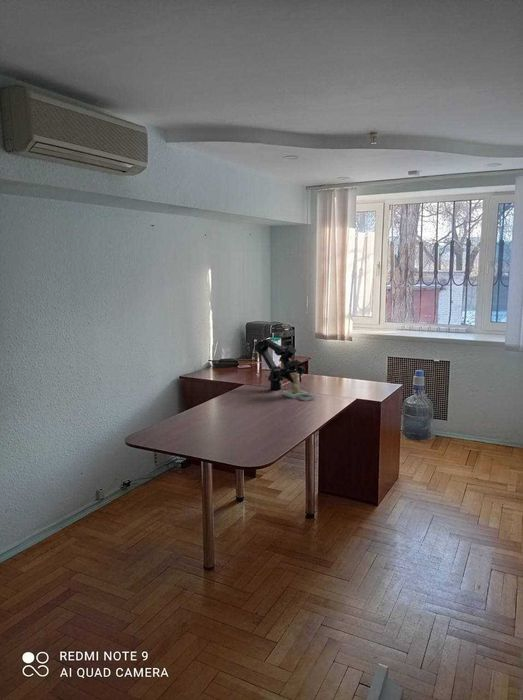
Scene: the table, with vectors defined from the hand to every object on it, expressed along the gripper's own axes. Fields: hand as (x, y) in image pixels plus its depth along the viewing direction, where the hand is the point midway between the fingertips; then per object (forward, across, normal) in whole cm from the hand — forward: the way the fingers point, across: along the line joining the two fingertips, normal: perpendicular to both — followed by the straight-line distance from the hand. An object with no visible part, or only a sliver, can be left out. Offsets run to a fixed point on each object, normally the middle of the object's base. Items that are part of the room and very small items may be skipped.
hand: (296, 382), depth 326 cm
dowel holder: (+13, 0, 0) cm, 13 cm away
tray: (+5, 0, +7) cm, 9 cm away
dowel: (+5, 0, +7) cm, 8 cm away
